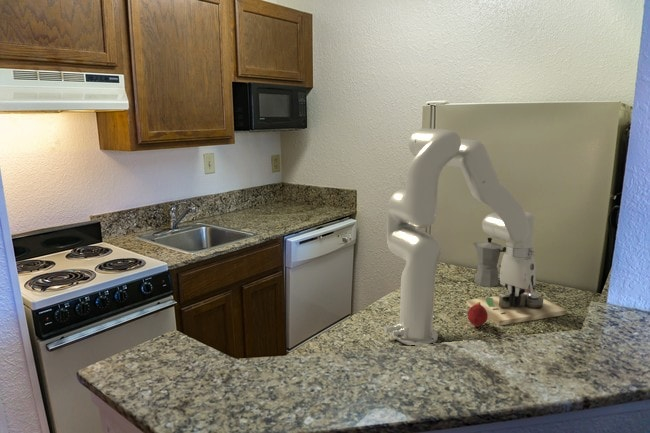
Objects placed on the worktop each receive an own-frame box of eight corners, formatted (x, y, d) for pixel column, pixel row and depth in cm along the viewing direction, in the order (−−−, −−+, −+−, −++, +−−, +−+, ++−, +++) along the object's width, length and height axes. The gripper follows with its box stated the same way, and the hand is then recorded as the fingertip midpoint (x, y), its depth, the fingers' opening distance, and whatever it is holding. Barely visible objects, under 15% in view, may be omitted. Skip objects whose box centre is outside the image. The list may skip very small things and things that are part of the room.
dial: (535, 300, 158) (536, 288, 157) (546, 307, 151) (548, 296, 151) (495, 303, 155) (495, 291, 154) (505, 311, 149) (506, 299, 148)
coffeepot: (464, 281, 181) (467, 236, 177) (476, 275, 187) (480, 232, 183) (502, 292, 170) (506, 244, 166) (514, 285, 176) (518, 240, 172)
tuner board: (499, 325, 143) (499, 320, 143) (466, 304, 159) (466, 299, 158) (566, 314, 151) (566, 309, 150) (528, 295, 167) (529, 290, 166)
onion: (487, 331, 139) (489, 306, 137) (467, 330, 140) (469, 305, 138) (485, 323, 144) (487, 299, 143) (466, 321, 146) (467, 297, 144)
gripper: (548, 254, 142) (542, 310, 146) (504, 243, 154) (500, 295, 158) (535, 259, 138) (530, 316, 142) (490, 248, 149) (487, 301, 153)
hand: (514, 305), depth 150 cm, fingers closed
